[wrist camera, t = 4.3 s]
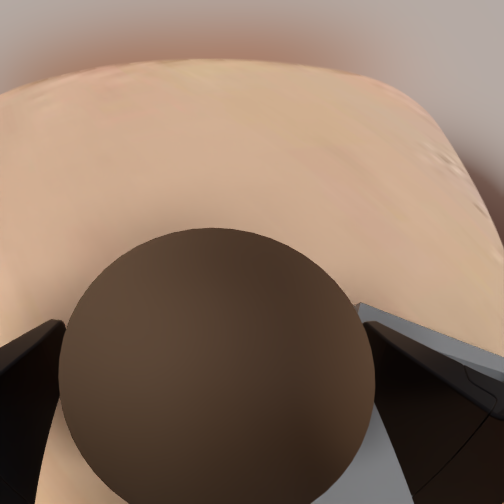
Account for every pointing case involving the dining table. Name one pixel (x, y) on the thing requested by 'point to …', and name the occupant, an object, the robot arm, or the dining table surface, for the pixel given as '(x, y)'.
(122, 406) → the brown upright cylinder
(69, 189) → the dining table surface
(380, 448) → the tray
